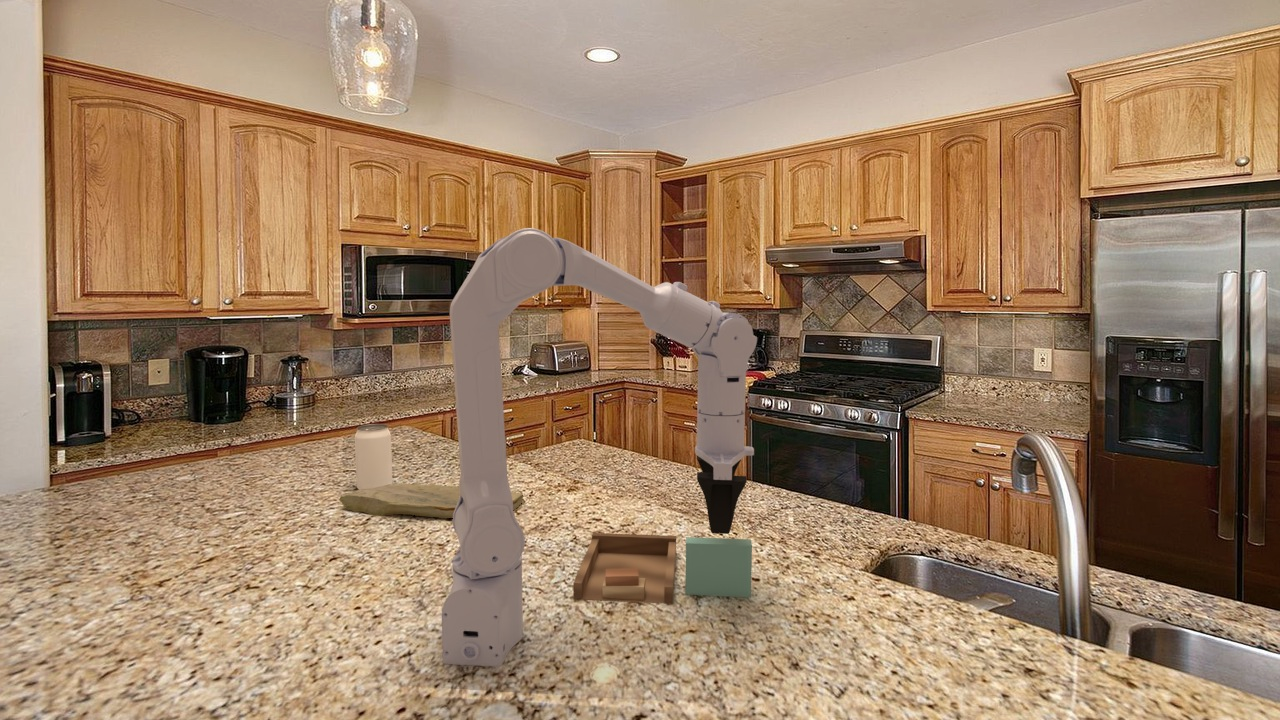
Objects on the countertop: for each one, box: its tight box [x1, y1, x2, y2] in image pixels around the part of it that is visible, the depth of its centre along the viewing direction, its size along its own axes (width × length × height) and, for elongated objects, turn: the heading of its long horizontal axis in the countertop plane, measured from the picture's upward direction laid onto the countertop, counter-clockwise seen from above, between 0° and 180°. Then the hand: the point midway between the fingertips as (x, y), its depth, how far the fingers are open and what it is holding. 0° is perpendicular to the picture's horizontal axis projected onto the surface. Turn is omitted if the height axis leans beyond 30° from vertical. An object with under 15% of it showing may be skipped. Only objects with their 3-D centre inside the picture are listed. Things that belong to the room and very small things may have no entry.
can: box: [354, 423, 393, 490], centre depth 123 cm, size 6×6×12 cm
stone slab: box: [339, 483, 524, 519], centre depth 112 cm, size 12×4×30 cm
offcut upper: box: [606, 568, 639, 586], centre depth 77 cm, size 2×4×1 cm, turn 93°
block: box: [684, 536, 753, 598], centre depth 78 cm, size 2×8×7 cm, turn 85°
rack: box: [572, 532, 677, 605], centre depth 83 cm, size 15×12×3 cm
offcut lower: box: [603, 577, 645, 600], centre depth 78 cm, size 2×5×2 cm, turn 85°
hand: (718, 521), depth 78 cm, fingers open, 7 cm apart
